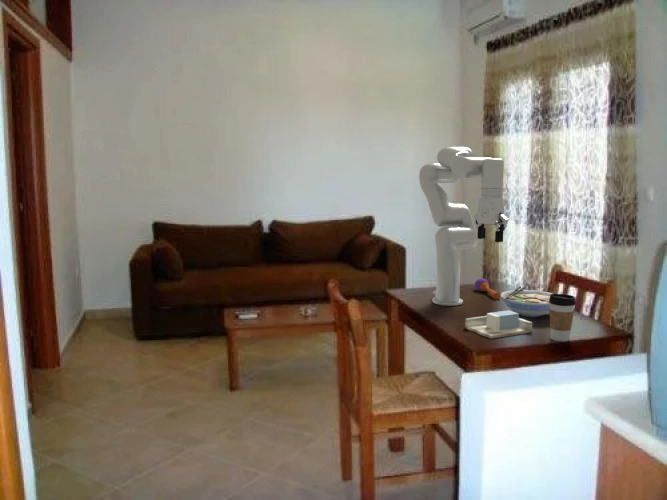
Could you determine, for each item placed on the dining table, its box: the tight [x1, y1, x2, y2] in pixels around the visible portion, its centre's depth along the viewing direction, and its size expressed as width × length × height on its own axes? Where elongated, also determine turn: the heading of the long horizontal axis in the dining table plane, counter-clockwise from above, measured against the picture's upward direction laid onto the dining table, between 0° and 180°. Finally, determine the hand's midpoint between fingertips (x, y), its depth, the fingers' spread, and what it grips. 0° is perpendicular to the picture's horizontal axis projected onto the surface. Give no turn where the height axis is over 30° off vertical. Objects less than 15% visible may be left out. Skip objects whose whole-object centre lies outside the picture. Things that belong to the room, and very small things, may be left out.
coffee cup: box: [549, 293, 577, 342], centre depth 207 cm, size 8×8×15 cm
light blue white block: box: [486, 309, 520, 331], centre depth 218 cm, size 10×5×5 cm, turn 116°
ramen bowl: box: [500, 285, 554, 318], centre depth 238 cm, size 25×23×8 cm
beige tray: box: [464, 315, 533, 340], centre depth 218 cm, size 14×18×4 cm
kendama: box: [474, 277, 501, 300], centre depth 274 cm, size 6×6×20 cm
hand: (489, 240), depth 225 cm, fingers open, 9 cm apart
